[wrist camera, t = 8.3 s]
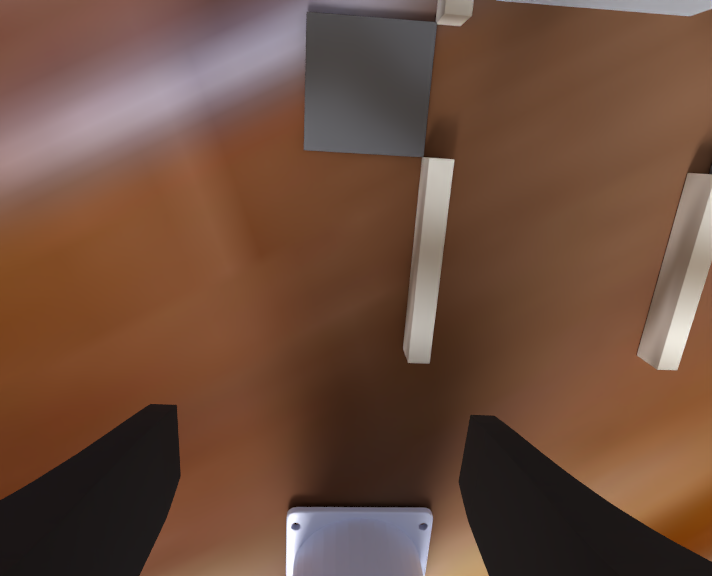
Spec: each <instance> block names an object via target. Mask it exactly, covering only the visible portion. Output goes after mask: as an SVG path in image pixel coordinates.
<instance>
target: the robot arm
mask: <svg viewBox="0 0 712 576" xmlns="http://www.w3.org/2000/svg"><path fill="white" fill-rule="evenodd" d="M180 476H181V475H180V456H179V438H178V420H177V405H162V404H150V405H148V406H147V407H145V408H144V409H142V410H140V411H139V412H138V413H136V414H135V415H133V416H132V417H130V418H129V419H127V420H126V421H124V422H123V423H122V424H120V425H119V426H117V427H116V428H114V429H113V430H112V431H110V432H109V433H107V434H106V435H104V436H103V437H101V438H100V439H98V440H97V441H95V442H94V443H93V444H91V445H90V446H88V447H87V448H85V449H84V450H82V451H81V452H79V453H78V454H76V455H75V456H73V457H71V458H70V459H68V460H67V461H65V462H64V463H62V464H60V465H59V466H57V467H56V468H54V469H52V470H51V471H49V472H48V473H46V474H44V475H43V476H41V477H40V478H38V479H36V480H35V481H33V482H32V483H30V484H28V485H26V486H25V487H23V488H21V489H20V490H18V491H16V492H14V493H13V494H11V495H9V496H7V497H5V498H4V499H2V500H0V576H139V575H140V573H141V571H142V569H143V567H144V565H145V563H146V560H147V558H148V556H149V554H150V552H151V550H152V548H153V546H154V544H155V541H156V539H157V537H158V535H159V533H160V531H161V529H162V526H163V524H164V522H165V520H166V518H167V515H168V512H169V509H170V506H171V503H172V501H173V498H174V495H175V491H176V488H177V485H178V482H179V479H180ZM459 486H460V490H461V494H462V498H463V503H464V507H465V510H466V514H467V518H468V522H469V524H470V527H471V530H472V533H473V535H474V538H475V540H476V543H477V546H478V548H479V551H480V554H481V556H482V559H483V561H484V564H485V566H486V569H487V571H488V574H489V576H712V562H711V561H709V560H707V559H705V558H703V557H701V556H700V555H698V554H696V553H694V552H692V551H690V550H688V549H687V548H685V547H683V546H681V545H679V544H677V543H675V542H673V541H672V540H670V539H668V538H666V537H665V536H663V535H661V534H660V533H658V532H656V531H654V530H653V529H651V528H649V527H648V526H646V525H644V524H643V523H641V522H640V521H638V520H636V519H635V518H633V517H632V516H630V515H628V514H627V513H625V512H623V511H622V510H620V509H619V508H617V507H616V506H614V505H613V504H611V503H610V502H608V501H607V500H605V499H604V498H602V497H601V496H599V495H598V494H596V493H595V492H594V491H592V490H591V489H589V488H588V487H587V486H585V485H584V484H582V483H581V482H579V481H578V480H577V479H575V478H574V477H573V476H571V475H570V474H569V473H567V472H566V471H565V470H563V469H562V468H561V467H559V466H558V465H557V464H555V463H554V462H553V461H552V460H550V459H549V458H548V457H546V456H545V455H544V454H543V453H541V452H540V451H539V450H538V449H536V448H535V447H534V446H533V445H531V444H530V443H529V442H528V441H526V440H525V439H524V438H523V437H521V436H520V435H519V434H518V433H516V432H515V431H514V430H513V429H511V428H510V427H509V426H507V425H506V424H505V423H504V422H502V421H501V420H499V419H498V418H497V417H495V416H485V415H470V420H469V426H468V432H467V437H466V443H465V449H464V454H463V460H462V466H461V471H460V477H459ZM432 522H433V516H432V512H431V510H430V509H428V508H424V507H293V508H291V509H290V510H289V511H288V513H287V526H286V576H425V572H426V565H427V558H428V551H429V544H430V537H431V529H432ZM293 523H298V524H297V525H296V524H293ZM421 523H425V524H423V525H420V524H421Z"/></svg>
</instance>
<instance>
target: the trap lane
mask: <svg viewBox="0 0 712 576" xmlns="http://www.w3.org/2000/svg"><path fill="white" fill-rule="evenodd" d="M473 2H474V0H438V2H437V12H436V22H428V21H415V20H403V19H391V18H378V17H366V16H354V15H341V14H329V13H317V12H307V23H306V72H305V120H304V150H311V151H327V152H344V153H361V154H378V155H394V156H411V157H422V163H421V173H420V183H419V193H418V203H417V213H416V223H415V233H414V243H413V253H412V263H411V273H410V283H409V293H408V303H407V313H406V323H405V333H404V343H403V350H404V353H405V356H406V359H407V361H408V363H429V364H430V356H431V348H432V340H433V331H434V323H435V315H436V307H437V298H438V290H439V282H440V274H441V266H442V257H443V249H444V241H445V233H446V224H447V216H448V208H449V200H450V192H451V183H452V175H453V167H454V160H453V159H446V158H430V157H424V147H425V137H426V127H427V117H428V107H429V97H430V87H431V77H432V67H433V57H434V48H435V38H436V28H437V24H438V25H451V26H461V25H462V24H463V23H465V22H466V21H467V20H468V19H469V18H470V17H471V16H472V11H473ZM711 261H712V165H711V169H710V172H709V174H699V173H688V174H687V178H686V181H685V185H684V188H683V192H682V195H681V199H680V203H679V206H678V210H677V213H676V217H675V220H674V224H673V228H672V231H671V235H670V238H669V242H668V245H667V249H666V253H665V256H664V260H663V263H662V267H661V270H660V274H659V278H658V281H657V285H656V288H655V292H654V295H653V299H652V303H651V306H650V310H649V313H648V317H647V320H646V324H645V328H644V331H643V335H642V338H641V342H640V345H639V349H638V353H637V356H638V357H640V358H641V359H643V360H644V361H646V362H647V363H649V364H650V365H651V366H653V367H654V368H656V369H657V370H677V369H678V366H679V363H680V360H681V357H682V354H683V350H684V347H685V344H686V341H687V338H688V334H689V331H690V328H691V325H692V322H693V319H694V315H695V312H696V309H697V306H698V303H699V300H700V296H701V293H702V290H703V287H704V284H705V280H706V277H707V274H708V271H709V268H710V265H711Z"/></svg>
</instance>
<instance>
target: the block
mask: <svg viewBox="0 0 712 576" xmlns="http://www.w3.org/2000/svg"><path fill="white" fill-rule="evenodd" d="M496 1H508V2H520V3H532V4H544V5H557V6H569V7H581V8H593V9H606V10H618V11H630V12H643V13H655V14H667V15H679V16H692V15H695V14H698V13H701V12H704V11H707V10H709V9H712V0H496Z"/></svg>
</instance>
